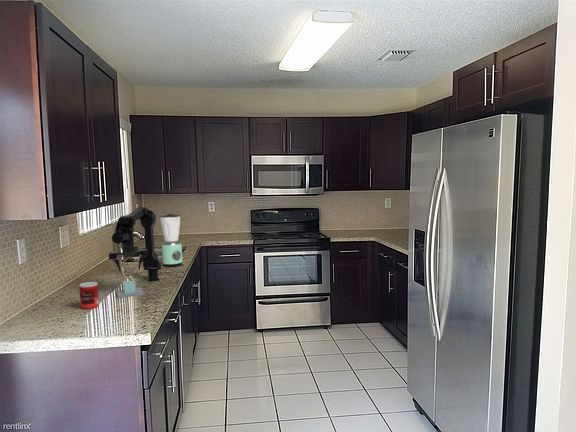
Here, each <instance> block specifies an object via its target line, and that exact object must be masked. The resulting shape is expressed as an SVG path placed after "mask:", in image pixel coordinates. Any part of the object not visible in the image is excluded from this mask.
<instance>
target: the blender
mask: <svg viewBox="0 0 576 432" xmlns="http://www.w3.org/2000/svg"><path fill="white" fill-rule="evenodd" d="M159 219H160V224H161V229H162V233H163V239H164V241H163V242H162V244H161V252H162V253H161V254H162V255H161V256H162V265H163V266H164V265H165V266H164V267H166V266H167V267H168V268H172V267H174V266H180V265H181V266H183V262H184V260H183V259H184V258H183V245H182V242H181V241H180V239H179V238H180V227H181V215H180V214H172V213H170V214H166V215H160V216H159Z"/></svg>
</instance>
